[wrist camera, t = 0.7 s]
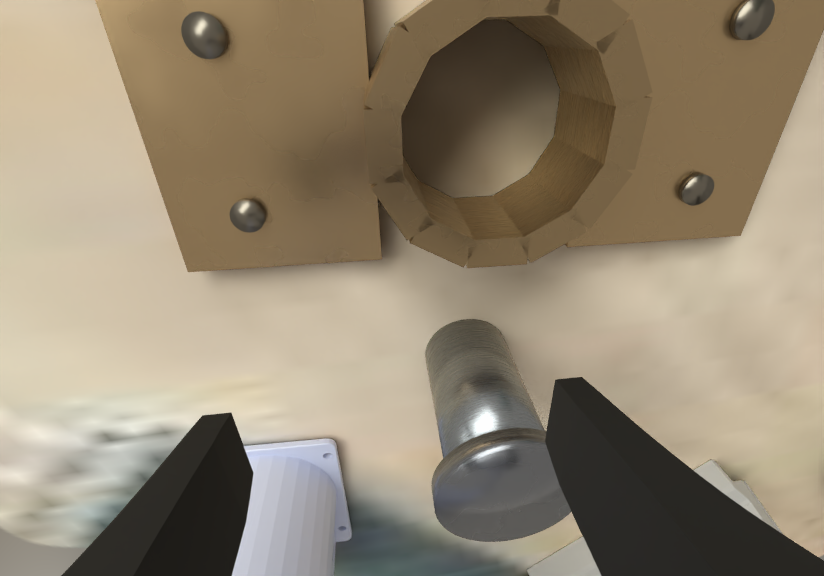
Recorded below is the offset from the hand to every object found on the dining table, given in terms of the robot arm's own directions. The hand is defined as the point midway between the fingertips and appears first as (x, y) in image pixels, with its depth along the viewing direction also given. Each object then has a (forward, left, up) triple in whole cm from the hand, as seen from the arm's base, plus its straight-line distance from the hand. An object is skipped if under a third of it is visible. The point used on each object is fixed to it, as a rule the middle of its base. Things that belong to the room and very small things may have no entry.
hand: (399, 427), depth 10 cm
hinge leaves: (+5, -4, -10) cm, 11 cm away
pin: (-6, -4, -10) cm, 12 cm away
